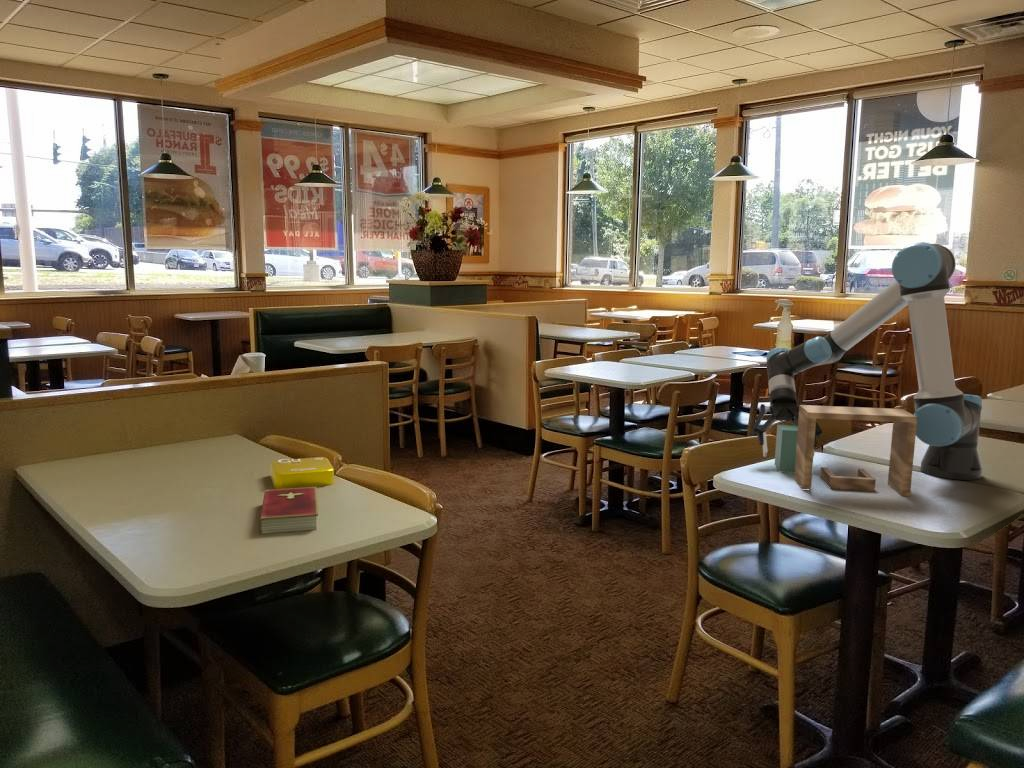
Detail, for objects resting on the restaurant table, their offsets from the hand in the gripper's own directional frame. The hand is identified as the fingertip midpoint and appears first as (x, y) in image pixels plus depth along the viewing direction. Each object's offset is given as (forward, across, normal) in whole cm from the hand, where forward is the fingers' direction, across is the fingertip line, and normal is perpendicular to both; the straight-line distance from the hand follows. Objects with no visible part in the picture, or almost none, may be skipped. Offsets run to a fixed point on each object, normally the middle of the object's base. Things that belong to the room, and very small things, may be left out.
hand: (788, 455), depth 218 cm
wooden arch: (+12, -13, +6) cm, 19 cm away
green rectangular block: (+1, 0, -5) cm, 5 cm away
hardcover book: (+50, +119, +43) cm, 136 cm away
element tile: (+30, +130, +22) cm, 135 cm away
